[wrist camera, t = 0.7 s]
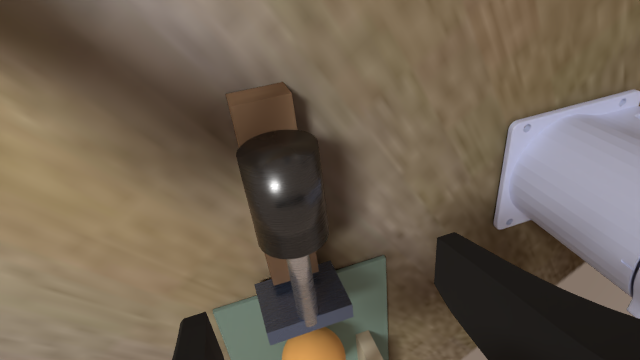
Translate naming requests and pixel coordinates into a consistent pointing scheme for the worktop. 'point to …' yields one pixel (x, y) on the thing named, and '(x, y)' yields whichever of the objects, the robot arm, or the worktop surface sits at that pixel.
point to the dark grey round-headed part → (291, 232)
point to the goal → (367, 347)
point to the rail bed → (257, 118)
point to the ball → (314, 346)
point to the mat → (369, 314)
